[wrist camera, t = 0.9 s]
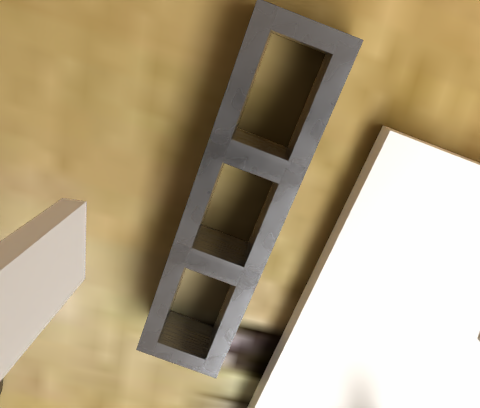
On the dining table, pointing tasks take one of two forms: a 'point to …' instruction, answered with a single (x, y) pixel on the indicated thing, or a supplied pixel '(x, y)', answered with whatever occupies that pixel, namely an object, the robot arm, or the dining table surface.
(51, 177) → the dining table surface
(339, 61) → the grey compartment rack
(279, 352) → the white board
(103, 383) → the dining table surface
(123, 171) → the dining table surface
